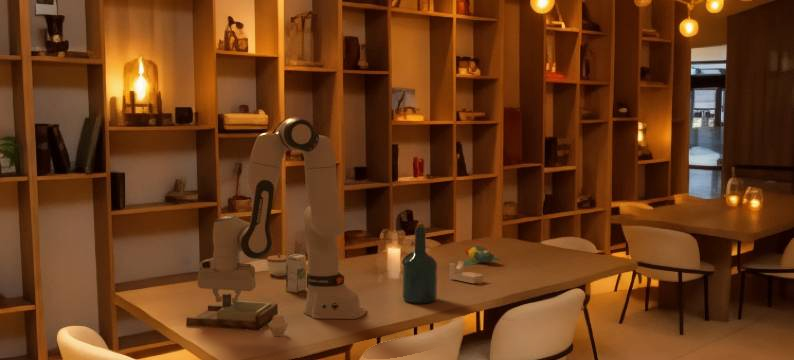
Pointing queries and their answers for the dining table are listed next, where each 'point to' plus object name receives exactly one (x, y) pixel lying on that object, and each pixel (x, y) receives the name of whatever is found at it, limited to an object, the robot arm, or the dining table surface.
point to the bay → (211, 320)
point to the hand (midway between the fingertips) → (226, 302)
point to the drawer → (240, 309)
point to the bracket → (463, 274)
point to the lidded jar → (277, 265)
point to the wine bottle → (419, 272)
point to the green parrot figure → (478, 256)
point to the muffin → (278, 325)
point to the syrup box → (295, 273)
